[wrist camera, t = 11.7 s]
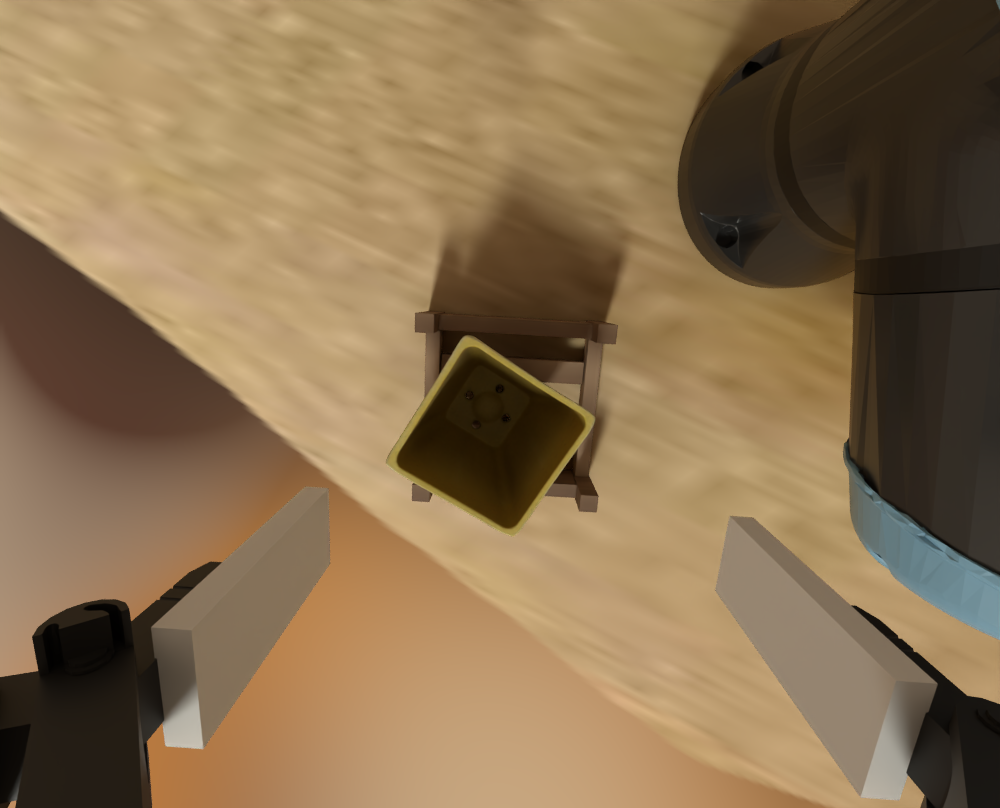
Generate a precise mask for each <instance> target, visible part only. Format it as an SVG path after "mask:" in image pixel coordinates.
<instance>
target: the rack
mask: <svg viewBox="0 0 1000 808" xmlns="http://www.w3.org/2000/svg"><path fill="white" fill-rule="evenodd" d="M617 328H618V325H615V324H611V323H606V322H602V321H586V322H579V321H562V320H546V319H529V318H512V317H495V316H479V315H462V314H445V312H435V311H426V312H419V313H415V332H420V333H426V353H425V397H426V395H427V394H428V392H429V390H430V389H431V387H432V386H433V384H434V383H435V381H436V379H437V378H438V376H439V374H440V373H441V371H442V369H443V368H444V366H445V365H446V363H447V361H448V360H449V358H450V356H451V355H452V353H443V354H442V345H443V330H451V331H468V332H484V333H501V334H518V335H534V336H551V337H568V338H584V339H585V348H584V358H583V362H582V361H573V360H556V359H540V358H523V357H506V356H504V357H505V358H507V359H508V360H510V361H511V362H512V363H514V364H515V365H517V366H518V367H520V368H521V369H523V370H524V371H526V372H527V373H529V374H530V375H532V376H533V377H535V378H536V379H538V380H540V381H541V382H551V383H567V384H581V388H580V398H579V405H580V406H582V407H583V408H585V409H587V410H588V411H590V412H591V413H592V414H593V415H594V416H595V410H596V401H597V391H598V382H599V373H600V363H601V354H602V345H603V344H616V337H617ZM472 426H473V427H474V428H478V427H479V426H480V423H479V422H473V423H472ZM593 429H594V425H593V427H592V429H591V431H590V432H589V434H588V435H587V437H586V438H585V439H584V441H583V442H582V444H581V445H580V446H579V448H578V449H577V450H576V452H575V453H574V459H573V469H571V470H562V471H561V473H560V474H559V476H558V477H557V478H556V480H555V481H554V483H553V484H552V486H551V487H550V488H549V490H548V491H547V493H546V494H545V496H554V497H570V498H575V500H576V503H577V506H578V509H579V511H583V512H597V504H598V494H597V492H596V490H595V488H594V485H593V483H592V481H591V479H590V477H589V466H590V457H591V447H592V438H593ZM432 494H433V493H431V492H429V491H427V490H426V489H424V488H422V487H420V486H418V485H417V484H415V483H413V484H412V501H421V502H429V501H430V499H431V496H432Z"/></svg>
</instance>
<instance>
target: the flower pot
mask: <svg viewBox="0 0 1000 808" xmlns="http://www.w3.org/2000/svg"><path fill="white" fill-rule="evenodd" d="M498 385H502V386H503V391H502V392H497V391H496V387H497V386H498ZM468 391H470V392H472V393H473V397H472V398H471V399H468V398H466V393H467V392H468ZM505 414H507V415H509V417H510V419H509V420H508V421H503V419H502V417H503V415H505ZM474 421H478V422H479V423H480V426H479V427H478V428H474V427H473V426H472V423H473V422H474ZM594 423H595V416H594V415H593V414H592V413H591V412H590V411H588V410H587V409H585V408H583V407H582V406H580V405H578V404H577V403H575V402H573V401H572V400H570V399H568V398H567V397H565V396H563V395H562V394H560V393H559V392H557V391H555V390H554V389H552V388H550V387H549V386H547V385H546V384H544V383H543V382H541V381H540V380H538V379H536V378H535V377H533V376H532V375H530V374H529V373H527V372H526V371H524V370H523V369H521V368H520V367H518V366H517V365H515V364H514V363H512V362H511V361H510V360H508V359H507V358H505V357H504V356H502V355H501V354H499V353H498V352H496V351H495V350H493V349H492V348H490V347H489V346H487V345H486V344H485V343H483V342H482V341H480V340H479V339H477V338H476V337H474V336H471V335H466V336H464V337H463V338H462V339H461V340H460V342H459V343H458V345H457V346H456V348H455V350H454V351H453V353H452V355H451V356H450V358H449V360H448V361H447V363H446V365H445V366H444V368H443V369H442V371H441V373H440V374H439V376H438V378H437V379H436V381H435V383H434V384H433V386H432V387H431V389H430V390H429V392H428V394H427V395H426V397H425V398H424V400H423V401H422V403H421V405H420V406H419V408H418V409H417V411H416V412H415V414H414V416H413V417H412V419H411V420H410V422H409V424H408V425H407V427H406V428H405V430H404V432H403V433H402V435H401V436H400V438H399V439H398V441H397V443H396V444H395V446H394V447H393V449H392V450H391V452H390V453H389V455H388V457H387V460H386V465H387V466H388V467H389V468H390V469H391V470H393V471H394V472H396V473H397V474H399V475H401V476H403V477H405V478H406V479H408V480H410V481H411V482H413V483H415V484H417V485H418V486H420V487H422V488H424V489H426V490H427V491H429V492H431V493H433V494H434V495H436V496H438V497H440V498H441V499H443V500H445V501H447V502H448V503H450V504H452V505H454V506H456V507H457V508H459V509H461V510H463V511H464V512H466V513H468V514H469V515H471V516H473V517H475V518H477V519H478V520H480V521H482V522H483V523H485V524H487V525H488V526H490V527H492V528H493V529H495V530H497V531H499V532H501V533H503V534H506V535H508V536H512V537H514V536H515V535H517V534H518V533H519V532H520V530H521V529H522V528H523V526H524V525H525V523H526V522H527V521H528V519H529V518H530V516H531V515H532V513H533V512H534V510H535V509H536V507H537V506H538V504H539V503H540V501H541V500H542V499H543V497H544V496H545V494H546V493H547V491H548V490H549V488H550V487H551V486H552V484H553V483H554V481H555V480H556V478H557V477H558V476H559V474H560V473H561V471H562V470H563V468H564V467H565V466H566V464H567V463H568V461H569V460H570V459H571V457H572V456H573V455H574V453H575V452H576V450H577V449H578V448H579V446H580V445H581V444H582V442H583V441H584V439H585V438H586V437H587V435H588V434H589V432H590V431H591V429H592V427H593V425H594Z"/></svg>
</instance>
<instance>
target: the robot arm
mask: <svg viewBox="0 0 1000 808" xmlns="http://www.w3.org/2000/svg"><path fill="white" fill-rule="evenodd" d="M678 197H679V205H680V210H681V214H682V218H683V221H684V224H685V227H686V229H687V231H688V234H689V236H690V237H691V239H692V241H693V243H694V244H695V246H696V247H697V249H698V250H699V251H700V253H701V254H702V255H703V256H704V257H705V259H706V260H707V261H708V262H709V263H710V264H712V265H713V266H714V267H715V268H716V269H718V270H719V271H720V272H722V273H723V274H725V275H727V276H729V277H730V278H732V279H734V280H737V281H739V282H742V283H745V284H748V285H752V286H756V287H763V288H794V287H805V286H812V285H816V284H820V283H824V282H828V281H831V280H834V279H836V278H839V277H841V276H844V275H846V274H848V273H850V272H852V271H854V270H855V282H854V292H853V345H852V373H851V400H850V427H849V439H848V440H847V442H845V443H844V449H843V458H844V462H845V465H846V467H847V469H848V471H849V490H850V514H851V519H852V523H853V526H854V529H855V531H856V533H857V535H858V537H859V539H860V541H861V542H862V544H863V545H864V547H865V548H866V549H867V551H868V552H869V553H870V554H871V555H872V556H873V557H874V558H875V559H876V560H877V561H878V562H879V563H880V564H882V565H883V566H885V567H886V568H888V569H889V570H890V572H891V574H892V575H893V577H894V578H895V579H896V580H898V581H899V582H900V583H901V584H903V585H904V586H905V587H907V588H908V589H909V590H911V591H912V592H914V593H915V594H917V595H918V596H919V597H921V598H922V599H924V600H925V601H927V602H928V603H930V604H932V605H933V606H935V607H936V608H938V609H940V610H942V611H943V612H945V613H947V614H948V615H950V616H952V617H954V618H956V619H958V620H959V621H961V622H963V623H965V624H967V625H969V626H971V627H973V628H975V629H977V630H979V631H981V632H983V633H985V634H988V635H990V636H992V637H994V638H996V639H999V640H1000V0H860V1H859V2H858V3H857V4H856V5H854V6H853V7H852V8H851V9H850V10H849V11H847V12H846V13H845V14H844V15H843V16H842V17H841V18H839V19H837V20H834V21H831V22H828V23H825V24H822V25H819V26H816V27H813V28H810V29H807V30H804V31H801V32H798V33H795V34H792V35H789V36H786V37H784V38H781V39H779V40H777V41H775V42H773V43H771V44H769V45H768V46H766V47H764V48H763V49H761V50H759V51H758V52H757V53H755V54H754V55H752V56H751V57H749V58H748V59H747V60H746V61H744V62H743V63H742V64H741V65H740V66H739V67H737V68H736V69H735V70H734V71H733V72H732V73H731V74H730V75H729V76H728V77H727V78H726V79H725V80H724V81H723V82H722V83H721V84H720V85H719V86H718V87H717V89H716V90H715V91H714V92H713V93H712V94H711V95H710V97H709V98H708V99H707V101H706V102H705V103H704V105H703V106H702V108H701V109H700V111H699V112H698V114H697V116H696V118H695V119H694V121H693V123H692V125H691V128H690V130H689V132H688V135H687V137H686V140H685V143H684V146H683V149H682V154H681V158H680V164H679V171H678ZM328 490H329V489H328V488H318V487H305V488H303V489H302V490H301V491H300V492H299V493H298V494H297V495H296V496H294V497H293V498H292V499H291V500H290V501H289V502H288V503H287V504H286V505H285V506H284V507H283V508H281V509H280V510H279V511H278V512H277V513H276V514H275V515H274V516H273V517H271V518H270V519H269V520H268V521H267V522H266V523H265V524H264V525H263V526H262V527H260V528H259V529H258V530H257V531H256V532H255V533H254V534H253V535H252V536H251V537H250V538H248V539H247V540H246V541H245V542H244V543H243V544H242V545H241V546H240V547H239V548H237V549H236V550H235V551H234V552H233V553H232V554H231V555H230V556H229V557H228V558H226V559H225V560H224V561H223V562H209V563H207V564H205V565H203V566H201V567H199V568H197V569H195V570H193V571H191V572H189V573H188V574H187V575H186V576H184V577H183V578H182V579H181V580H180V581H179V582H177V583H176V584H175V585H174V586H173V589H169V590H168V591H167V592H166V593H164V594H163V595H162V596H161V597H160V600H156V601H155V602H154V603H153V604H151V605H150V606H149V607H148V608H147V609H146V610H145V611H143V612H142V613H141V614H140V615H139V616H137V617H136V618H135V619H134V620H133V621H131V619H130V612H129V608H128V606H127V604H126V603H125V602H122V601H119V600H114V599H113V600H97V601H92V602H87V603H83V604H80V605H77V606H74V607H71V608H69V609H66V610H64V611H62V612H60V613H58V614H56V615H54V616H53V617H51V618H49V619H48V620H47V621H46V622H44V623H43V624H42V625H40V626H39V627H38V628H37V630H36V632H35V633H34V635H33V636H32V638H33V644H34V649H35V655H36V660H37V665H38V671H36V672H30V673H24V674H18V675H11V676H5V677H0V808H8V806H9V804H10V802H11V801H15V800H17V801H16V807H15V808H152V799H151V784H150V769H149V757H148V747H147V741H148V739H149V738H150V737H151V736H152V734H153V733H154V732H155V731H156V730H157V728H158V727H159V726H160V725H161V724H162V722H163V731H164V739H165V746H170V747H184V748H185V747H186V748H198V749H203V748H204V747H205V746H206V744H207V743H208V741H209V740H210V738H211V737H212V735H213V734H214V733H215V731H216V730H217V728H218V726H219V725H220V724H221V722H222V721H223V719H224V718H225V716H226V715H227V713H228V712H229V710H230V709H231V708H232V706H233V705H234V703H235V702H236V700H237V699H238V697H239V696H240V695H241V693H242V692H243V690H244V689H245V687H246V686H247V684H248V683H249V681H250V680H251V678H252V677H253V676H254V674H255V672H256V671H257V670H258V668H259V667H260V665H261V664H262V662H263V661H264V659H265V658H266V657H267V655H268V654H269V652H270V651H271V649H272V648H273V646H274V645H275V643H276V642H277V640H278V639H279V638H280V636H281V635H282V633H283V632H284V630H285V629H286V627H287V626H288V624H289V623H290V621H291V620H292V618H293V617H294V616H295V614H296V613H297V611H298V610H299V608H300V607H301V605H302V604H303V602H304V601H305V599H306V598H307V596H308V595H309V594H310V592H311V591H312V589H313V587H314V586H315V585H316V583H317V582H318V580H319V579H320V578H321V576H322V575H323V573H324V572H325V570H326V569H327V567H328V566H329V564H330V542H329V541H330V538H329V537H330V536H329V491H328ZM715 591H716V592H717V594H718V595H719V597H720V598H721V600H722V601H723V602H724V604H725V605H726V607H727V608H728V610H729V611H730V612H731V614H732V615H733V617H734V618H735V619H736V621H737V622H738V624H739V625H740V627H741V628H742V629H743V631H744V632H745V634H746V635H747V637H748V638H749V639H750V641H751V642H752V644H753V645H754V647H755V648H756V649H757V651H758V652H759V654H760V655H761V656H762V658H763V659H764V661H765V662H766V664H767V665H768V666H769V668H770V669H771V671H772V672H773V674H774V675H775V676H776V678H777V679H778V681H779V682H780V684H781V685H782V686H783V688H784V689H785V691H786V692H787V693H788V695H789V696H790V698H791V699H792V701H793V702H794V703H795V705H796V706H797V708H798V709H799V711H800V712H801V713H802V715H803V716H804V718H805V719H806V721H807V722H808V723H809V725H810V726H811V728H812V729H813V731H814V732H815V733H816V735H817V736H818V738H819V739H820V740H821V742H822V743H823V745H824V746H825V748H826V749H827V750H828V752H829V753H830V755H831V756H832V758H833V759H834V760H835V762H836V763H837V765H838V766H839V768H840V769H841V770H842V772H843V773H844V775H845V776H846V777H847V779H848V780H849V782H850V783H851V785H852V786H853V787H854V789H855V790H856V792H857V793H858V795H859V796H860V797H861V798H874V799H888V800H900V797H901V794H902V791H903V788H904V785H905V782H906V779H907V776H909V777H910V778H911V779H912V780H913V782H914V783H915V784H916V785H917V786H918V788H919V789H920V790H921V791H922V792H923V794H924V795H925V796H924V799H923V802H922V804H921V807H920V808H1000V704H997V703H995V702H992V701H989V700H986V699H983V698H977V697H971V696H967V695H966V694H964V693H963V692H962V691H961V690H960V689H959V688H958V687H956V686H955V685H954V684H953V683H952V682H951V681H949V680H948V679H947V678H946V677H945V676H944V675H943V674H941V673H940V672H939V671H938V670H937V669H936V668H935V667H933V666H932V665H931V664H930V663H929V662H928V661H926V660H925V659H924V658H923V657H922V656H921V655H920V654H918V653H917V652H914V651H913V648H911V647H910V646H909V645H908V644H907V643H906V642H905V641H903V640H902V639H899V638H898V635H897V634H895V633H894V632H893V631H892V630H891V629H890V628H888V627H887V626H886V625H885V624H884V623H883V622H882V621H880V620H879V619H877V618H876V617H874V616H872V615H871V614H869V613H867V612H866V611H864V610H862V609H861V608H859V607H857V606H852V605H850V604H849V603H847V602H846V601H845V600H844V599H843V598H842V597H841V596H840V595H839V594H837V593H836V592H835V591H834V590H833V589H832V588H831V587H830V586H829V585H827V584H826V583H825V582H824V581H823V580H822V579H821V578H820V577H819V576H817V575H816V574H815V573H814V572H813V571H812V570H811V569H810V568H809V567H807V566H806V565H805V564H804V563H803V562H802V561H801V560H800V559H799V558H797V557H796V556H795V555H794V554H793V553H792V552H791V551H790V550H789V549H787V548H786V547H785V546H784V545H783V544H782V543H781V542H780V541H779V540H777V539H776V538H775V537H774V536H773V535H772V534H771V533H770V532H769V531H767V530H766V529H765V528H764V527H763V526H762V525H761V524H760V523H759V522H757V521H756V520H755V519H754V518H752V517H737V516H729V521H728V527H727V532H726V537H725V542H724V548H723V553H722V558H721V563H720V569H719V574H718V579H717V584H716V590H715Z"/></svg>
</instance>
